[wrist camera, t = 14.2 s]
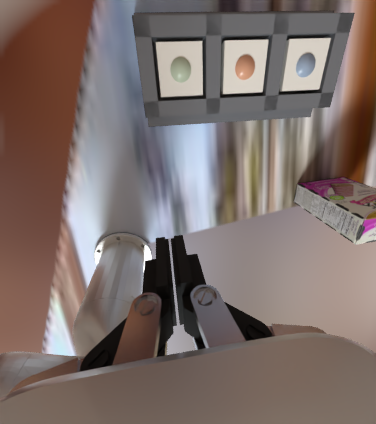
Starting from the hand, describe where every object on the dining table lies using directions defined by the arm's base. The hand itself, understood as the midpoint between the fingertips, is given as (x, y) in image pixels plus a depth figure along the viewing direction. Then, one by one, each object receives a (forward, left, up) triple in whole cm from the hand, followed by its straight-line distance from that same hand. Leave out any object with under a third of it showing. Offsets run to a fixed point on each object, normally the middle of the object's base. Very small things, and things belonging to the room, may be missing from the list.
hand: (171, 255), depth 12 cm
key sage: (+13, -4, -25) cm, 29 cm away
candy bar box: (-9, -34, -28) cm, 44 cm away
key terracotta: (+13, -13, -25) cm, 31 cm away
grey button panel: (+13, -13, -27) cm, 33 cm away
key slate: (+13, -22, -25) cm, 36 cm away
